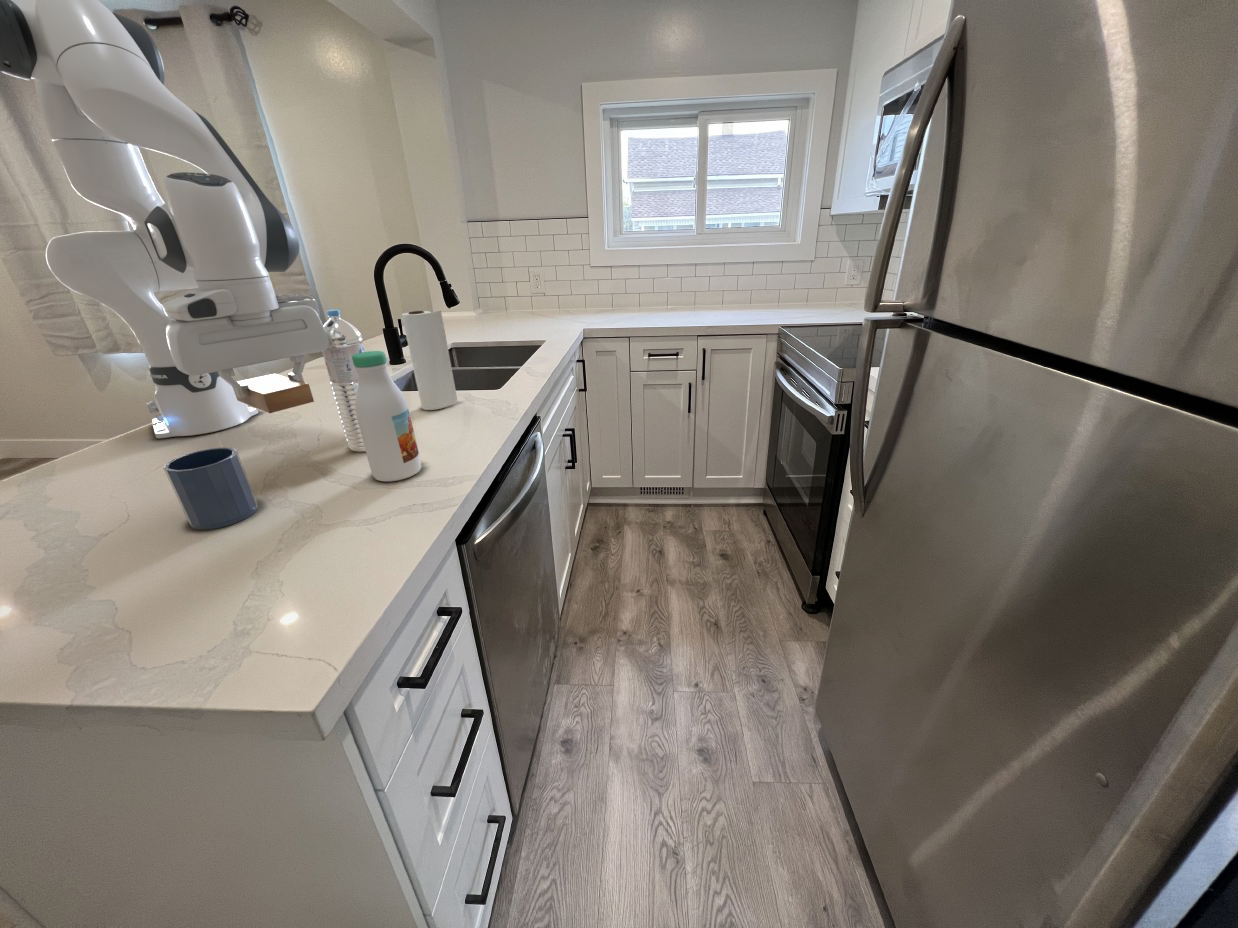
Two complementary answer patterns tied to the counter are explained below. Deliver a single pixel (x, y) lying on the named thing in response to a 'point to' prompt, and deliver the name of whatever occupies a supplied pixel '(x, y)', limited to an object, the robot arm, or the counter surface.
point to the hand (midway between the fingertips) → (271, 390)
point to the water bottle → (344, 373)
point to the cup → (212, 488)
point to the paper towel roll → (430, 358)
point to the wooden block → (276, 393)
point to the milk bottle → (384, 420)
